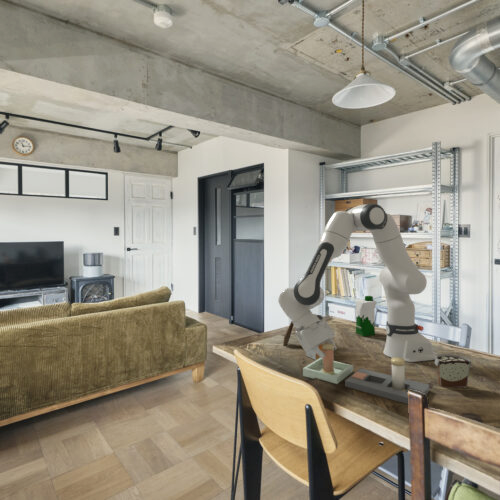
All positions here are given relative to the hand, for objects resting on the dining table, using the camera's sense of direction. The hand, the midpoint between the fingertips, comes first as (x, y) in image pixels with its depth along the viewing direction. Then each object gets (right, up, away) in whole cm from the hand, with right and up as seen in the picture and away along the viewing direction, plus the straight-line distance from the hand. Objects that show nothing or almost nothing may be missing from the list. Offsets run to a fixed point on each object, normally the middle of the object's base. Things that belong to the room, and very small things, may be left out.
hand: (329, 353), depth 135 cm
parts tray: (0, -8, +1) cm, 8 cm away
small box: (-1, -7, +20) cm, 22 cm away
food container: (+41, -9, -9) cm, 43 cm away
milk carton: (+31, -5, +52) cm, 61 cm away
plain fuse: (+20, -8, -15) cm, 27 cm away
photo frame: (-7, -6, +40) cm, 41 cm away
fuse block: (+17, -9, -13) cm, 23 cm away
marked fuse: (0, -8, +1) cm, 8 cm away
